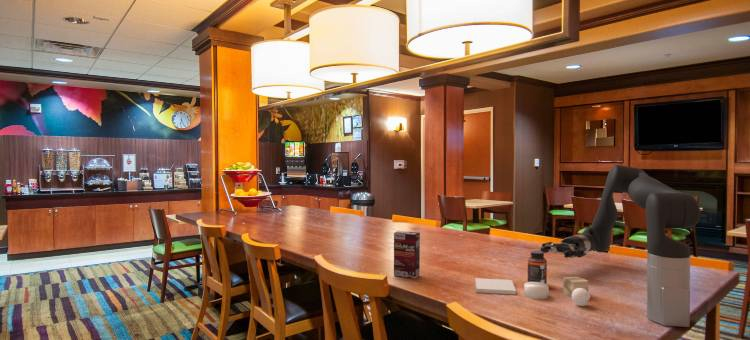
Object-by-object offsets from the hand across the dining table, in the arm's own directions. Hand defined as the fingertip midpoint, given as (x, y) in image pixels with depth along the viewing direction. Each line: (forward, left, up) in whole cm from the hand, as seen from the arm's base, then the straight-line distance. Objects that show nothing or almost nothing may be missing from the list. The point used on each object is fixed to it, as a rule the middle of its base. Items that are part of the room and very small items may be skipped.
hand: (553, 252), depth 150 cm
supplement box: (-5, +51, -10) cm, 52 cm away
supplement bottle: (-9, +7, -10) cm, 15 cm away
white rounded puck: (-20, +9, -10) cm, 24 cm away
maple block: (-17, -3, -10) cm, 20 cm away
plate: (-14, +21, -9) cm, 27 cm away
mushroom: (-27, -2, -10) cm, 29 cm away
